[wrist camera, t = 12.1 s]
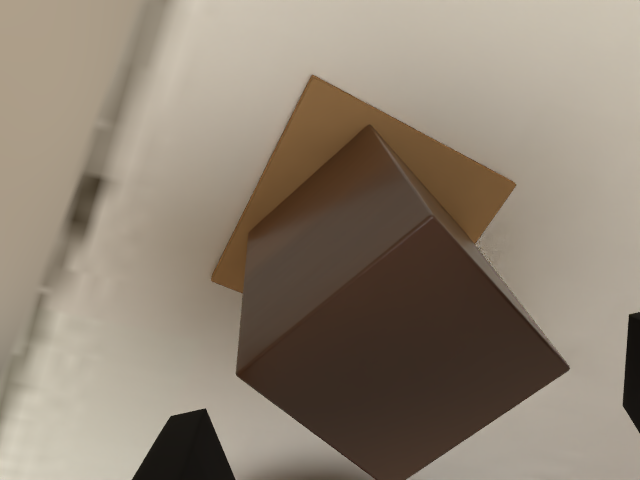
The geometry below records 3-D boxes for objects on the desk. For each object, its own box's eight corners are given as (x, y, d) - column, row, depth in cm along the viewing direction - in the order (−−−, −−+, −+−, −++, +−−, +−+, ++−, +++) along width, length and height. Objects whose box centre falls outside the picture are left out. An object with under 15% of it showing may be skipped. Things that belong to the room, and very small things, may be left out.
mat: (395, 348, 17) (397, 354, 17) (211, 276, 16) (210, 281, 15) (513, 181, 15) (517, 184, 15) (312, 73, 13) (313, 76, 13)
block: (467, 234, 15) (572, 369, 10) (351, 325, 16) (390, 491, 11) (369, 122, 14) (432, 214, 8) (247, 232, 15) (234, 376, 9)
